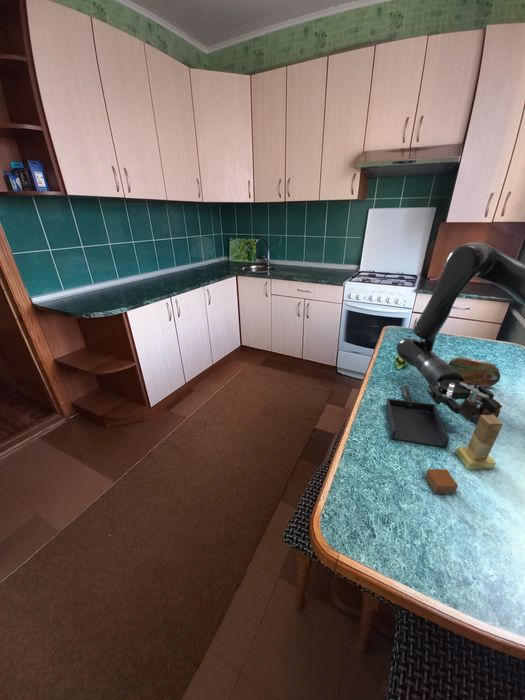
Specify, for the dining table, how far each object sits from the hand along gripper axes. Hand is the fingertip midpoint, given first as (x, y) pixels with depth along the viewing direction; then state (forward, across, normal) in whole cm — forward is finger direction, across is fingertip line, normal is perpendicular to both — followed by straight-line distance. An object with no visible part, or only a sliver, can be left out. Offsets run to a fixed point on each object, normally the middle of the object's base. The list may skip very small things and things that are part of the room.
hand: (477, 411), depth 69 cm
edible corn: (-47, +5, +12) cm, 48 cm away
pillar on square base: (+4, 0, +12) cm, 13 cm away
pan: (-13, -8, +12) cm, 19 cm away
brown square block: (+11, -12, +12) cm, 20 cm away
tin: (-30, +21, +12) cm, 39 cm away
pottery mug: (-12, +12, +12) cm, 21 cm away
